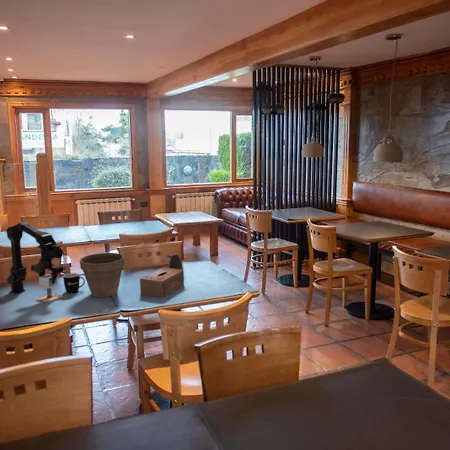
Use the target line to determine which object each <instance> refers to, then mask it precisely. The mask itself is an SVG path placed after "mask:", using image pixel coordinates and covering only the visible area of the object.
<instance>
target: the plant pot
mask: <svg viewBox="0 0 450 450" xmlns="http://www.w3.org/2000/svg"><path fill="white" fill-rule="evenodd" d="M79 266H80V270H82V271H83V275H84V279H85V282H86V283H87V286H88V288H89V291H90V294H91V296H92V297H95V298H108V297H112V296H115V295H117V294H118V291H119V287H120V282H121V277H122V272H123V268H124V266H125V255H123V254H121V253H118V252H117V253H116V252H99V253H93V254H88V255H85V256H83V257H81V258H80V259H79Z"/></svg>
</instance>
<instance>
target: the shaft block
mask: <svg viewBox="0 0 450 450" xmlns="http://www.w3.org/2000/svg"><path fill="white" fill-rule="evenodd" d="M62 298H63V295H61V294H54V293H52V288H51V287H46V294H45V295H42V296H39V297H38V298H36V299H35V300H36V302H45V303H50V304H51V303H53V302H56V301H57V300H60V299H62Z"/></svg>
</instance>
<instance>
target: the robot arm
mask: <svg viewBox="0 0 450 450" xmlns="http://www.w3.org/2000/svg"><path fill="white" fill-rule="evenodd" d="M5 231H6V237H7V239H8V240H9V241H10V246H11V250H10V251H11V258H12V259H11V261H12V262H11V263H12V266H11V268H10V272H9V276H8V277H7V279H6V280H7V283H8V284H10V291H9V293H11V294H12V293H13V294H20V293H22V292H25V291H26V289H24V287H25V286H24V281H26V278H27V274H28V273H27V267H25V266H24V265H23V261H22V260H23V259H22V250H21V249H22V248H21V240H22V238H23V233H25V234H27V235H29V236H31V238H34V240H35V241H36V243H37V244H38V246H37V248H38V249H40V258H39V261H38V262H37V263H35V264H32V265H31V266H30V271H33V272H35V273H37V275H38V276H39V277H41V276H44V275H46V271H51V272H50V273H49V274H50V275H51V276H52V284H54V283H55V280H56V278H57V277H58V276H59V274H60V273H62V272H64V271H65V267H64V266H63V265H55V263H53V260H54V259H61V258H62V257H63V255H64V251H63V249H62V248H60V245H58V244H57V242H56V241H55V239H54V236H53V235H52V233H49V232H47V231H42V230H39V229H38V228H36V227H34V226H33V225H31V224H29V222H27V221H23V222H19V223H17V224H15V225H12V226H8V227H7V228H6V230H5ZM57 279H58V278H57Z"/></svg>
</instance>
